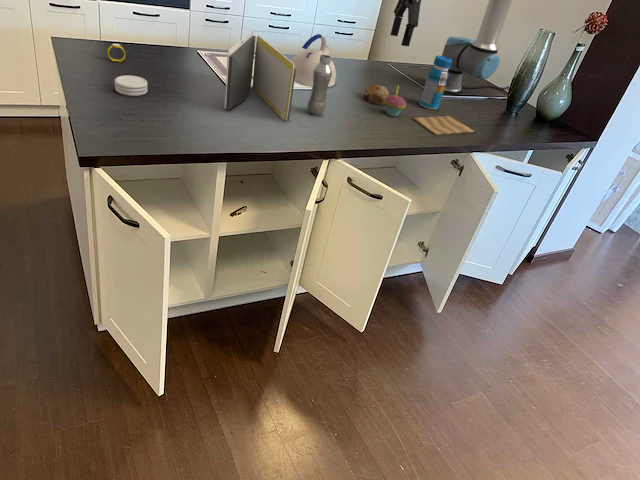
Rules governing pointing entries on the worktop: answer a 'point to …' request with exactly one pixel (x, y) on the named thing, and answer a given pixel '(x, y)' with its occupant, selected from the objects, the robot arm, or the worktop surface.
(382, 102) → the bread roll
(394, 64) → the worktop surface
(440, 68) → the beverage bottle
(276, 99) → the grey folded panel
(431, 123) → the light brown flat board
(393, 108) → the cupcake
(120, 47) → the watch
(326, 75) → the plastic bottle
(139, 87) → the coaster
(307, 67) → the kettle
